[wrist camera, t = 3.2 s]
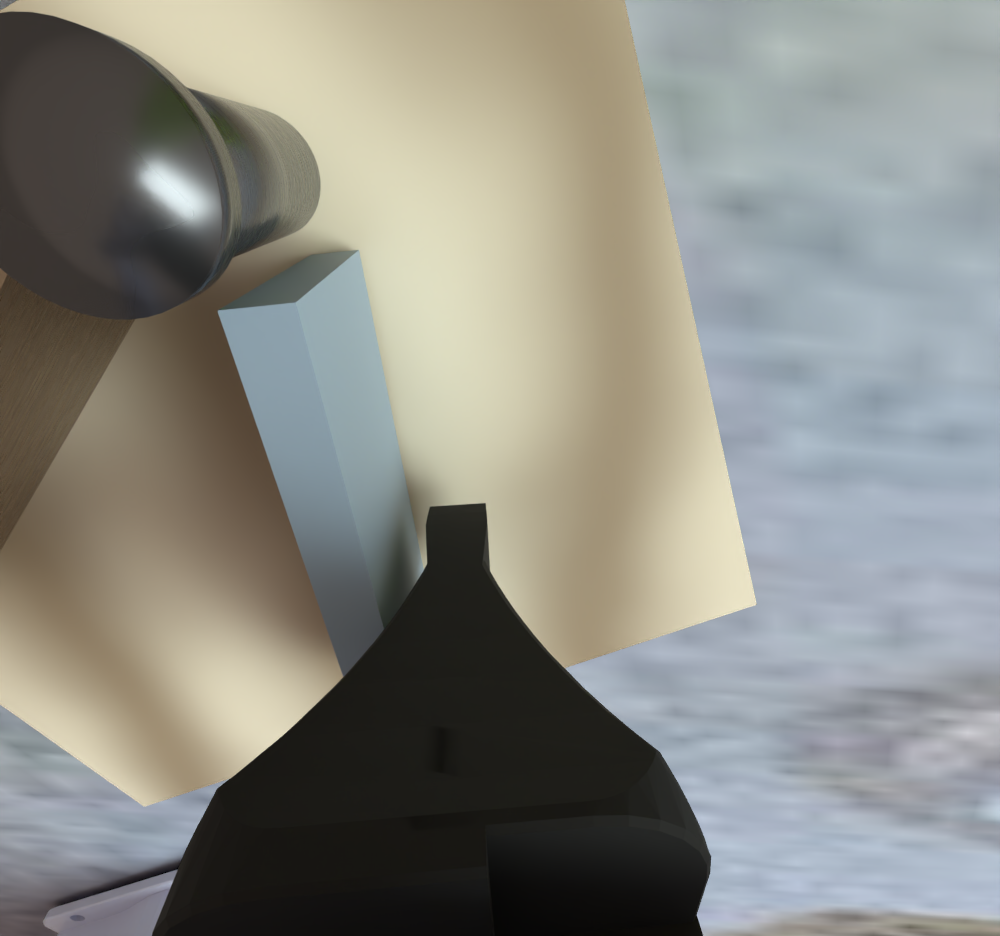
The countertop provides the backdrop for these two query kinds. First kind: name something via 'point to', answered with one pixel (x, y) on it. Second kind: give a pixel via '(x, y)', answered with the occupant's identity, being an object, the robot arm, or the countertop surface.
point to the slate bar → (330, 440)
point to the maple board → (408, 374)
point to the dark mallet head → (114, 217)
